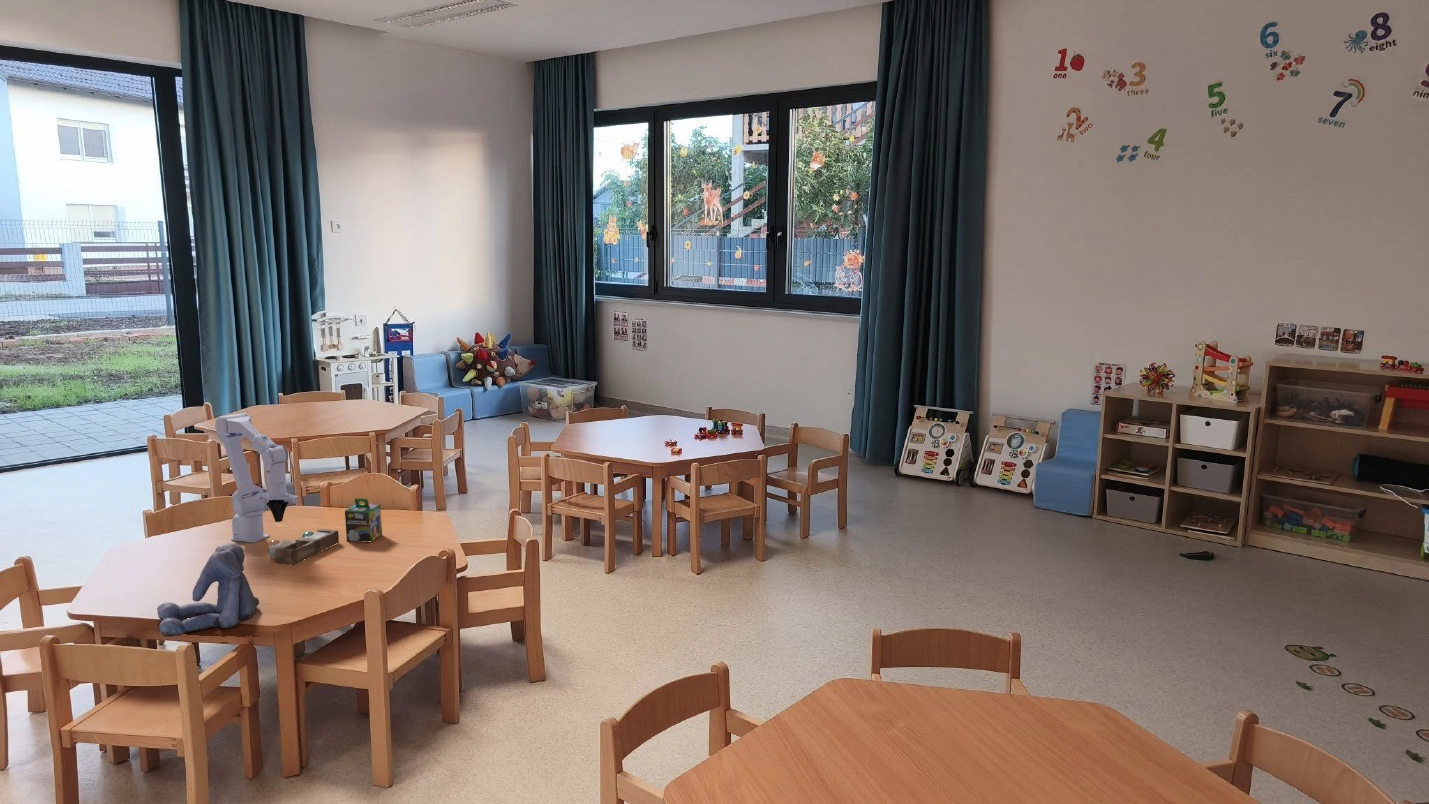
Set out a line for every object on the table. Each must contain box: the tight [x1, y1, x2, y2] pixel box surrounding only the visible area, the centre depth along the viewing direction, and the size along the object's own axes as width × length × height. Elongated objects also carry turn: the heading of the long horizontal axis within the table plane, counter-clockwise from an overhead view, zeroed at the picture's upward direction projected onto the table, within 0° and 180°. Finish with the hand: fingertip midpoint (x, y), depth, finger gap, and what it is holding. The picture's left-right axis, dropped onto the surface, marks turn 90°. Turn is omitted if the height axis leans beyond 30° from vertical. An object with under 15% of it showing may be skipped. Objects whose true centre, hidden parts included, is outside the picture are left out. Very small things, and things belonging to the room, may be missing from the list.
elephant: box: [156, 543, 260, 638], centre depth 252 cm, size 21×25×21 cm
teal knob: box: [301, 530, 329, 539], centre depth 314 cm, size 7×7×5 cm
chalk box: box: [344, 497, 383, 542], centre depth 323 cm, size 9×9×15 cm
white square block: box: [266, 539, 297, 559], centre depth 304 cm, size 7×7×5 cm
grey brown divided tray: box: [274, 528, 340, 566], centre depth 308 cm, size 7×23×5 cm, turn 166°
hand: (278, 521), depth 311 cm, fingers closed
